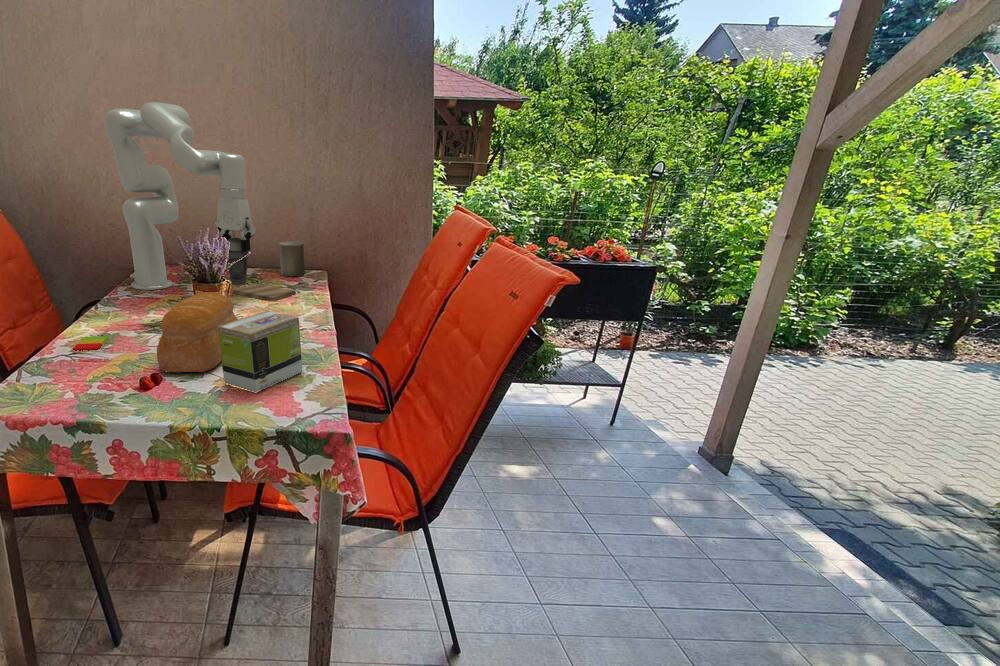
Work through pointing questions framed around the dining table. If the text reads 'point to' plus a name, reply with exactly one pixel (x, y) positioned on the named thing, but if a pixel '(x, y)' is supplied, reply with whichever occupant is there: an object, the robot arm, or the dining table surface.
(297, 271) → the pillar candle
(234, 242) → the beverage cup
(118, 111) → the robot arm
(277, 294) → the walnut board
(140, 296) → the dining table surface
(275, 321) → the tea box
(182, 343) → the bread
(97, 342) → the popsicle
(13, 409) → the dining table surface
